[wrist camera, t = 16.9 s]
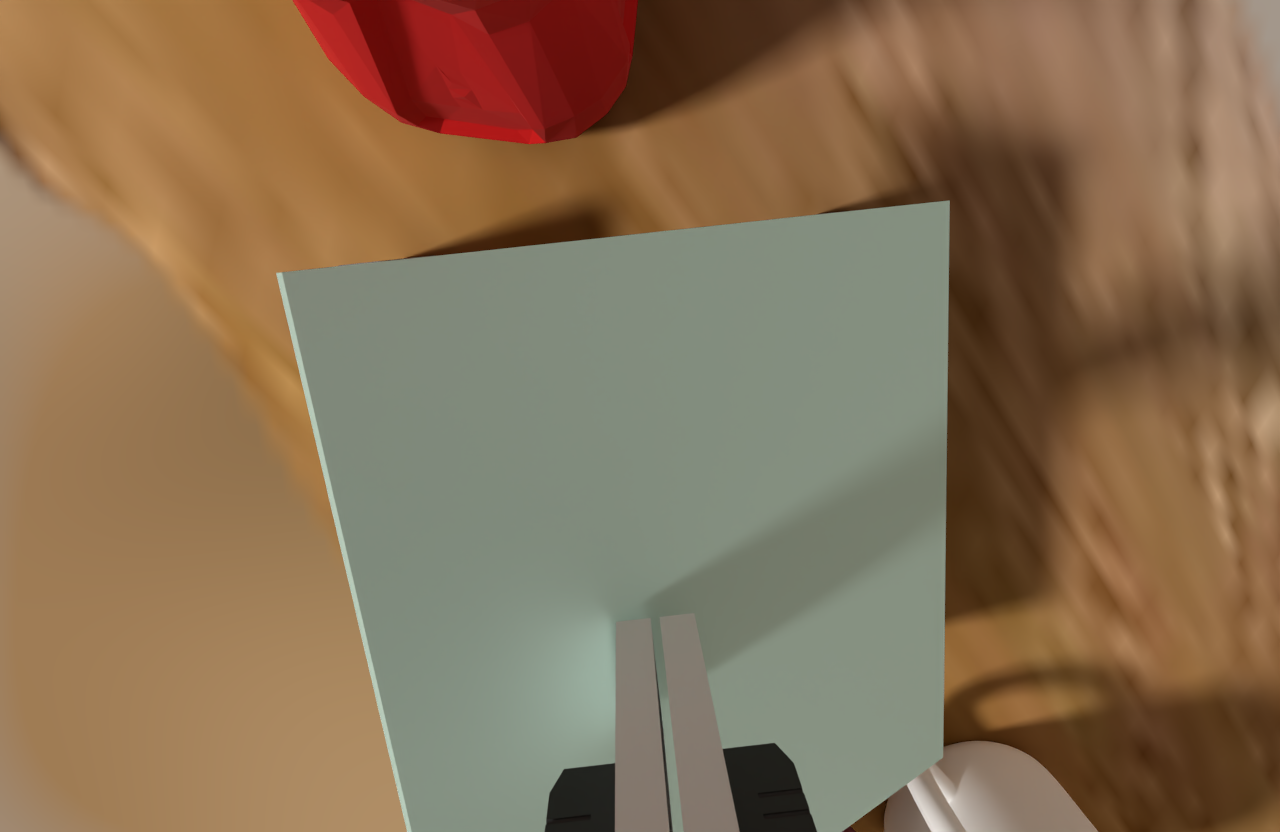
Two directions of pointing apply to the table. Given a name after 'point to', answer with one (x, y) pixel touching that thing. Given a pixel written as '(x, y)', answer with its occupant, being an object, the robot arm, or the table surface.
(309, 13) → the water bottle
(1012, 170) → the table surface
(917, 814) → the cup
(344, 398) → the lid
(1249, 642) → the table surface
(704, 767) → the robot arm
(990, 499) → the table surface
